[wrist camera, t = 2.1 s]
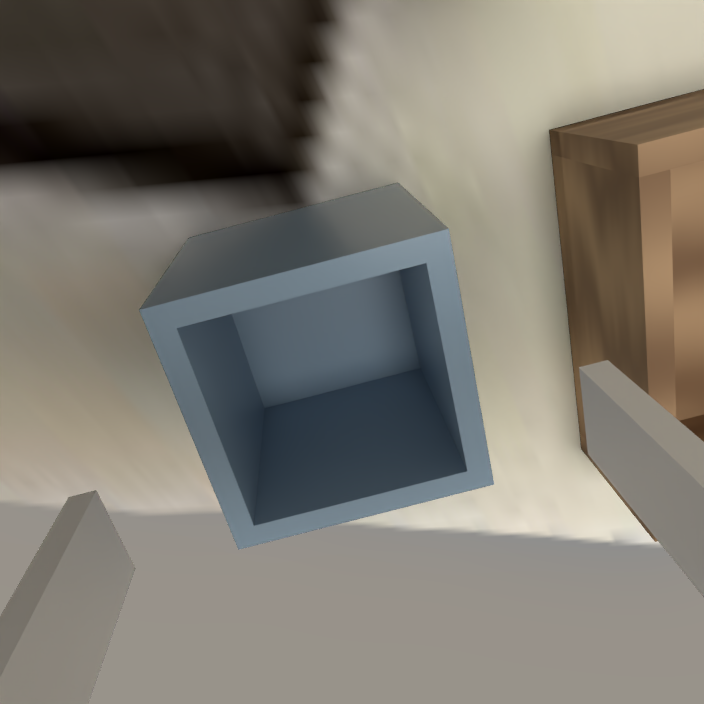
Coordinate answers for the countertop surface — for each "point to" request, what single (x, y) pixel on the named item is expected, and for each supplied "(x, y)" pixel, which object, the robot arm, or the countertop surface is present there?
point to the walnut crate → (636, 250)
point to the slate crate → (323, 364)
